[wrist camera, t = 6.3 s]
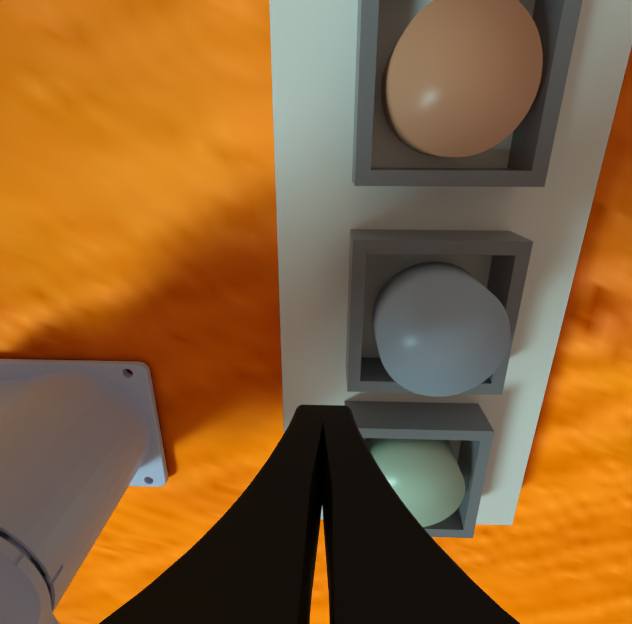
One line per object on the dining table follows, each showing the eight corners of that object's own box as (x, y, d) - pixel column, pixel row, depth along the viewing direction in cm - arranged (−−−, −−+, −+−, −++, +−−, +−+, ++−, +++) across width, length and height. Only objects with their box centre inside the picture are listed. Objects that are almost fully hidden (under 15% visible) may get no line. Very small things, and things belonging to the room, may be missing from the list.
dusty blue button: (369, 365, 17) (374, 395, 15) (375, 260, 15) (382, 278, 13) (477, 367, 17) (498, 397, 14) (495, 262, 15) (521, 280, 13)
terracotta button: (377, 155, 15) (384, 157, 13) (385, 11, 13) (395, -14, 11) (499, 156, 15) (526, 157, 13) (522, 10, 13) (558, -15, 11)
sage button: (359, 489, 21) (362, 526, 19) (363, 418, 19) (366, 450, 17) (445, 492, 21) (458, 529, 19) (456, 420, 19) (472, 453, 17)
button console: (290, 489, 24) (282, 552, 20) (274, -48, 14) (255, -115, 11) (497, 495, 23) (528, 560, 20) (619, -52, 14) (723, -123, 10)
